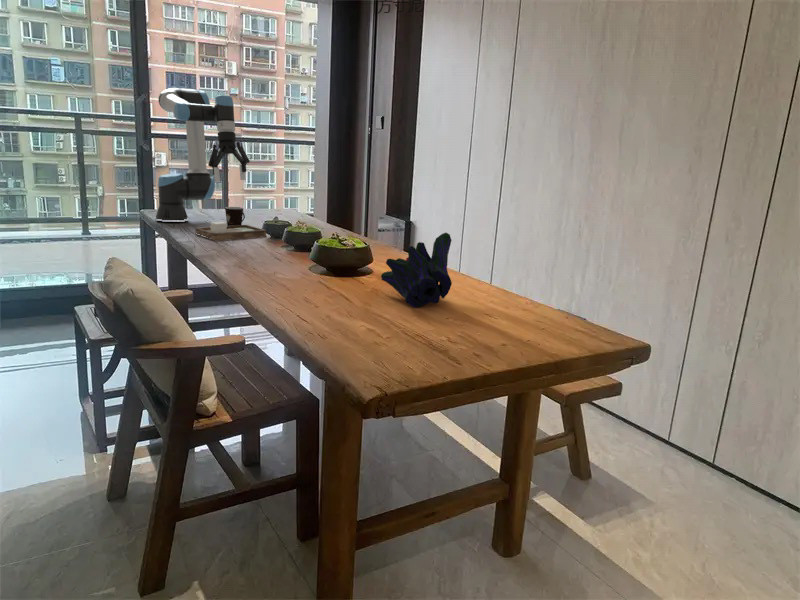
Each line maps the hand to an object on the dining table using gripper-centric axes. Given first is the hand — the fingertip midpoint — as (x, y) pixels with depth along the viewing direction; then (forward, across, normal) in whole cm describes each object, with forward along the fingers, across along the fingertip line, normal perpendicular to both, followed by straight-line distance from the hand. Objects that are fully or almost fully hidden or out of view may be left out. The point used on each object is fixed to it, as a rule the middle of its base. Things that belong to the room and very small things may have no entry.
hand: (230, 181), depth 275 cm
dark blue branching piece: (+48, +103, -48) cm, 123 cm away
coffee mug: (+20, -15, +21) cm, 33 cm away
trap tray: (+24, -5, +5) cm, 25 cm away
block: (+23, -5, -5) cm, 24 cm away
